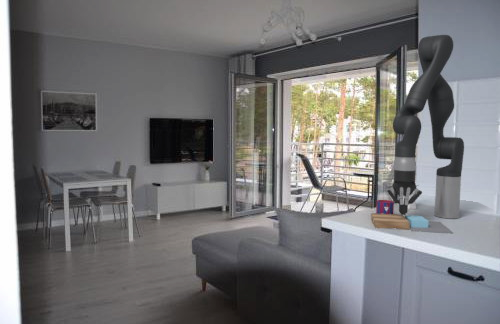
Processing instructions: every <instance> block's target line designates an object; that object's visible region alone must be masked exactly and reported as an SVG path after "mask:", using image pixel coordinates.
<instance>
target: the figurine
mask: <svg viewBox="0 0 500 324" xmlns="http://www.w3.org/2000/svg"><path fill="white" fill-rule="evenodd" d="M416 175H417V173H415V176H416ZM418 186H420V184H416V187H418ZM414 191H415V190H414ZM414 191H413V193H412V194H411V195H410V196H409V199H410V198H411V197H412V196H413V195H414ZM403 204H404V196H403ZM416 209H417V206H416V200H415V201H414V202H413V203H412V204H409V205H408V210H416Z"/></svg>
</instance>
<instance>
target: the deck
mask: <svg viewBox="0 0 500 324" xmlns="http://www.w3.org/2000/svg"><path fill="white" fill-rule="evenodd" d="M370 220H371V223H372V225H373V224H374V225H373V226H375V227H374V228H375V229H376V228H377V229H388V228H396V229H395V230H407V229H410V222H409V221H408V220H407V219H406V218H405V215H401V214H394V213H393V214H376V212H375V213H373V212H371V213H370Z"/></svg>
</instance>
